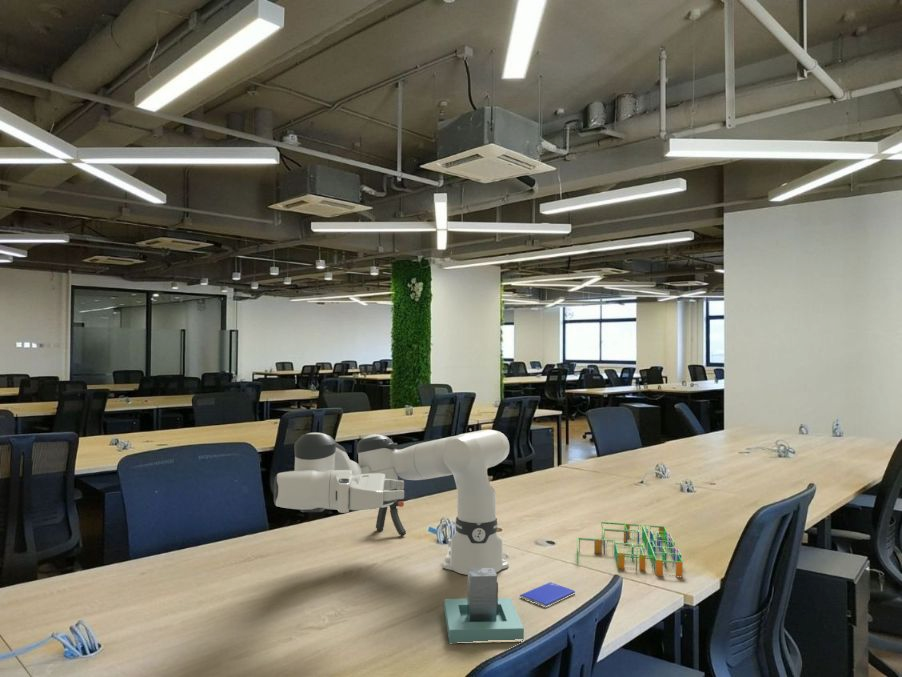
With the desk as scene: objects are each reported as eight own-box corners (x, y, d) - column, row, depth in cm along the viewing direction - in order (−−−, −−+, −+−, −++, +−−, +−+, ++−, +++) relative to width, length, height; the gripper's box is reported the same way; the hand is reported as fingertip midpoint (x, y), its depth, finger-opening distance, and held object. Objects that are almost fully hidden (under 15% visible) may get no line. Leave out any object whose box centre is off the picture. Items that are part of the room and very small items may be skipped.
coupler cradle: (444, 611, 145) (444, 599, 145) (510, 610, 147) (510, 597, 147) (449, 644, 129) (449, 629, 130) (523, 642, 131) (523, 628, 131)
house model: (685, 579, 170) (685, 562, 170) (577, 570, 175) (577, 553, 176) (666, 540, 204) (666, 526, 204) (576, 534, 210) (576, 520, 210)
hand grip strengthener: (402, 538, 201) (403, 492, 202) (375, 530, 209) (375, 487, 209) (407, 536, 203) (407, 491, 204) (379, 529, 211) (380, 485, 211)
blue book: (549, 581, 163) (519, 594, 154) (575, 590, 157) (545, 603, 148) (549, 587, 163) (519, 600, 154) (575, 596, 157) (545, 610, 148)
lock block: (467, 616, 140) (467, 568, 141) (494, 615, 141) (495, 567, 141) (469, 626, 135) (470, 576, 136) (497, 625, 136) (498, 575, 136)
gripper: (348, 492, 151) (403, 492, 152) (339, 515, 131) (404, 514, 132) (348, 467, 151) (404, 467, 152) (340, 485, 131) (404, 485, 132)
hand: (404, 489), depth 142 cm, fingers open, 8 cm apart
